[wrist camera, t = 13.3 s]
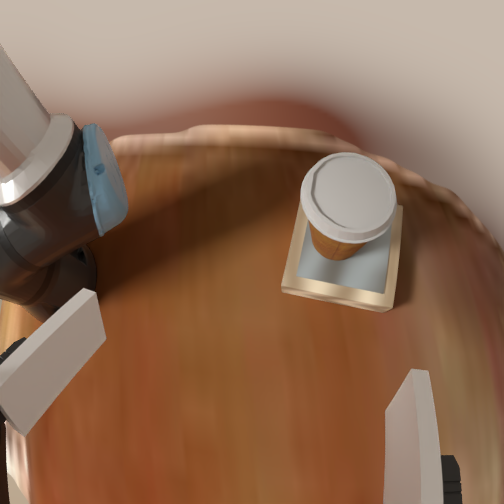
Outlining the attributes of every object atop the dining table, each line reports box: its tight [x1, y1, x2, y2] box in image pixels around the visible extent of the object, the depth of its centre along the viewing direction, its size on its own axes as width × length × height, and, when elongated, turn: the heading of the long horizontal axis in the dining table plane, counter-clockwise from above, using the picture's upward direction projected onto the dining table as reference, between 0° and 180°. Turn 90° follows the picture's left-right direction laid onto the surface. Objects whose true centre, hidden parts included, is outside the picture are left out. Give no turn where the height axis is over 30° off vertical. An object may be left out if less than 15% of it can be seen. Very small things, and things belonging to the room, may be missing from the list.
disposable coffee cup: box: [301, 152, 397, 261], centre depth 34 cm, size 10×10×12 cm
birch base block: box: [281, 199, 403, 313], centre depth 41 cm, size 14×14×4 cm
